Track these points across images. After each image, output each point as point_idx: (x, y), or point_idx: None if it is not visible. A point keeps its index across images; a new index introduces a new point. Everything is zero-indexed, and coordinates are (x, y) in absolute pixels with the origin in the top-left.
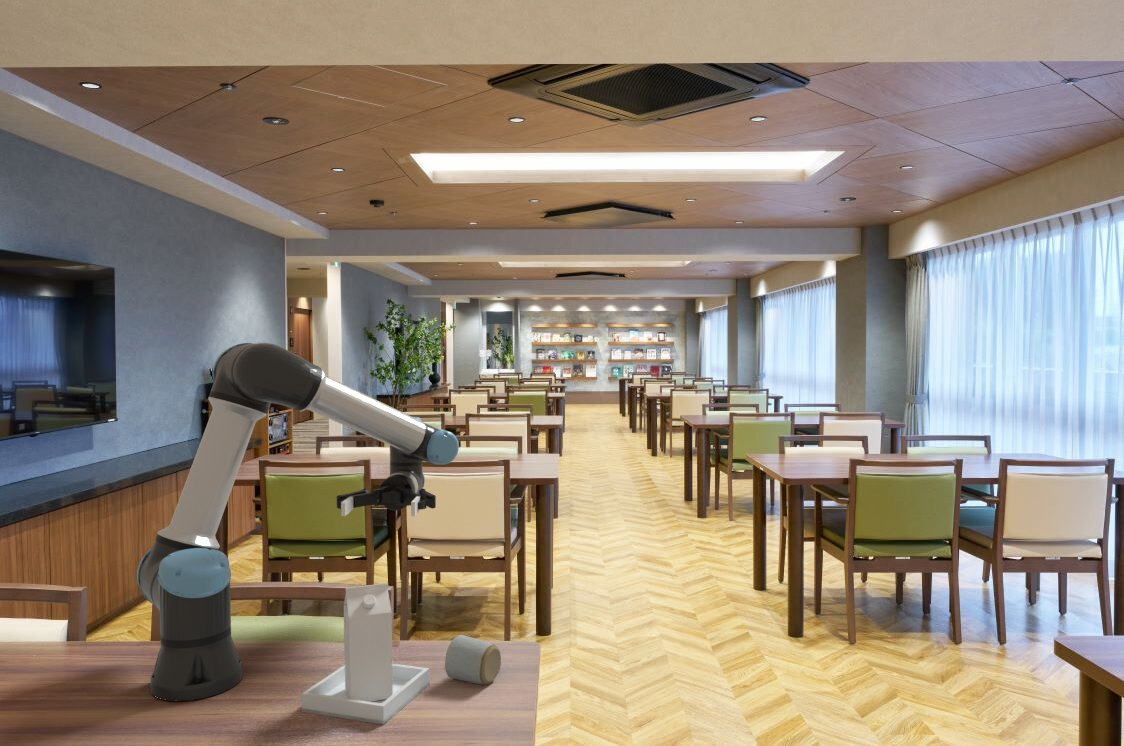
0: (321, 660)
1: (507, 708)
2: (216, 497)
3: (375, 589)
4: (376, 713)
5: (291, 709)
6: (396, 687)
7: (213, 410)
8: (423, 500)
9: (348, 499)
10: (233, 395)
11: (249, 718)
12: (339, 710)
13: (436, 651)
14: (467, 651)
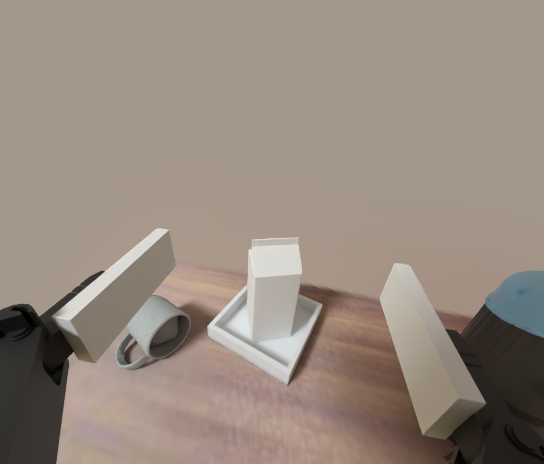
0: (346, 460)
1: (163, 285)
2: None
3: (266, 243)
4: None
5: (330, 320)
6: (241, 329)
7: None
8: (63, 304)
9: (421, 312)
10: None
11: (357, 314)
12: None
13: (163, 454)
14: (168, 302)
